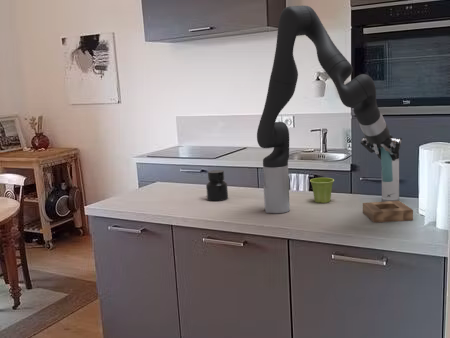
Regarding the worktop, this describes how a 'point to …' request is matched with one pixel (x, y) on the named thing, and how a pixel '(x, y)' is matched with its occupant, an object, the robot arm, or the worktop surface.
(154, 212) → the worktop surface
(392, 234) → the worktop surface
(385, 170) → the dowel
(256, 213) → the worktop surface
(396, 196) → the travel mug
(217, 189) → the ink bottle
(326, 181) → the plant pot
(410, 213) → the socket block
